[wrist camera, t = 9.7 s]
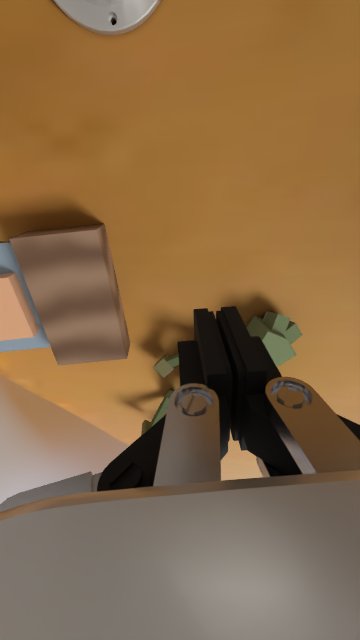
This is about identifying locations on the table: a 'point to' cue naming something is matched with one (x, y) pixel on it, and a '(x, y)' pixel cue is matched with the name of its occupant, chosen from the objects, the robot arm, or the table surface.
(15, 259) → the mat
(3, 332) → the tan flat block
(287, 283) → the table surface
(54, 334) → the plate
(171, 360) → the toy
